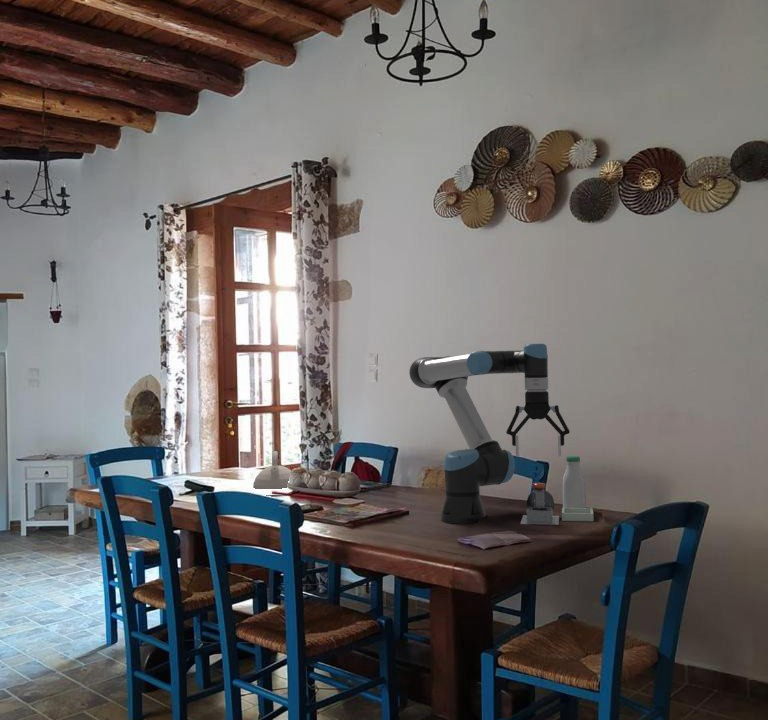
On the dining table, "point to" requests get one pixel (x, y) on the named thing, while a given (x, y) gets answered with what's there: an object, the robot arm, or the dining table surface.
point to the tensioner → (540, 511)
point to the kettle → (273, 475)
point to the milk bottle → (573, 484)
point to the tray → (577, 514)
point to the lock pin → (539, 495)
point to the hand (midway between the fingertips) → (538, 456)
